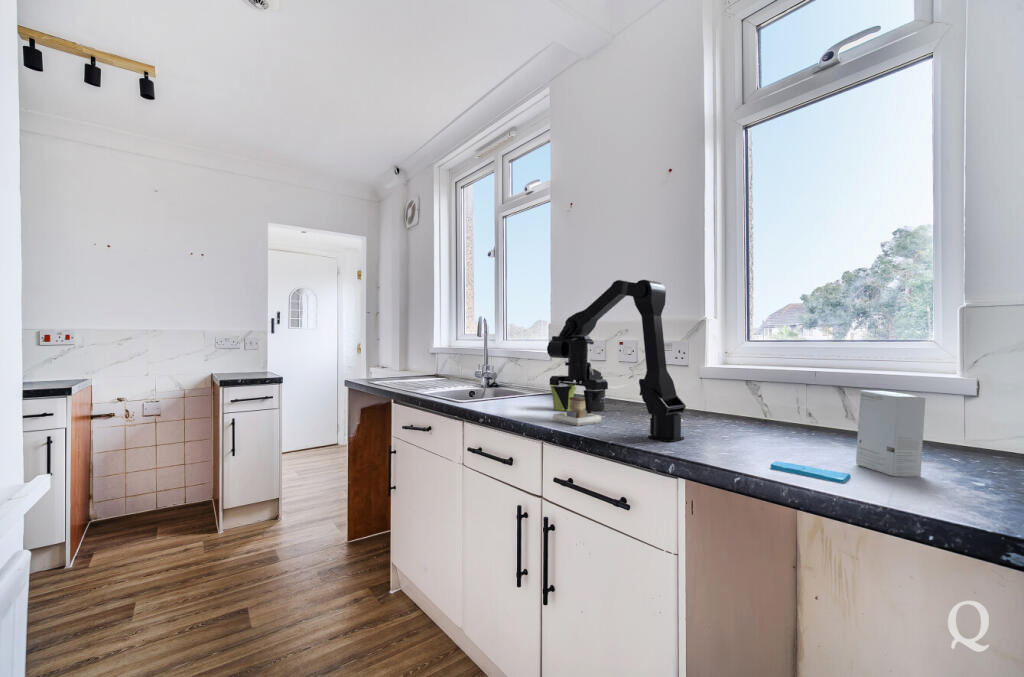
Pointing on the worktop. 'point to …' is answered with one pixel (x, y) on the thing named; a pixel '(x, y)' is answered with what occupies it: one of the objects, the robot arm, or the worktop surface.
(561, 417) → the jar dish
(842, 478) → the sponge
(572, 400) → the wooden block
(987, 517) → the worktop surface
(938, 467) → the worktop surface
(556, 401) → the plant pot
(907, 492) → the worktop surface
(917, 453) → the skincare box
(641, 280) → the robot arm
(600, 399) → the supplement bottle
